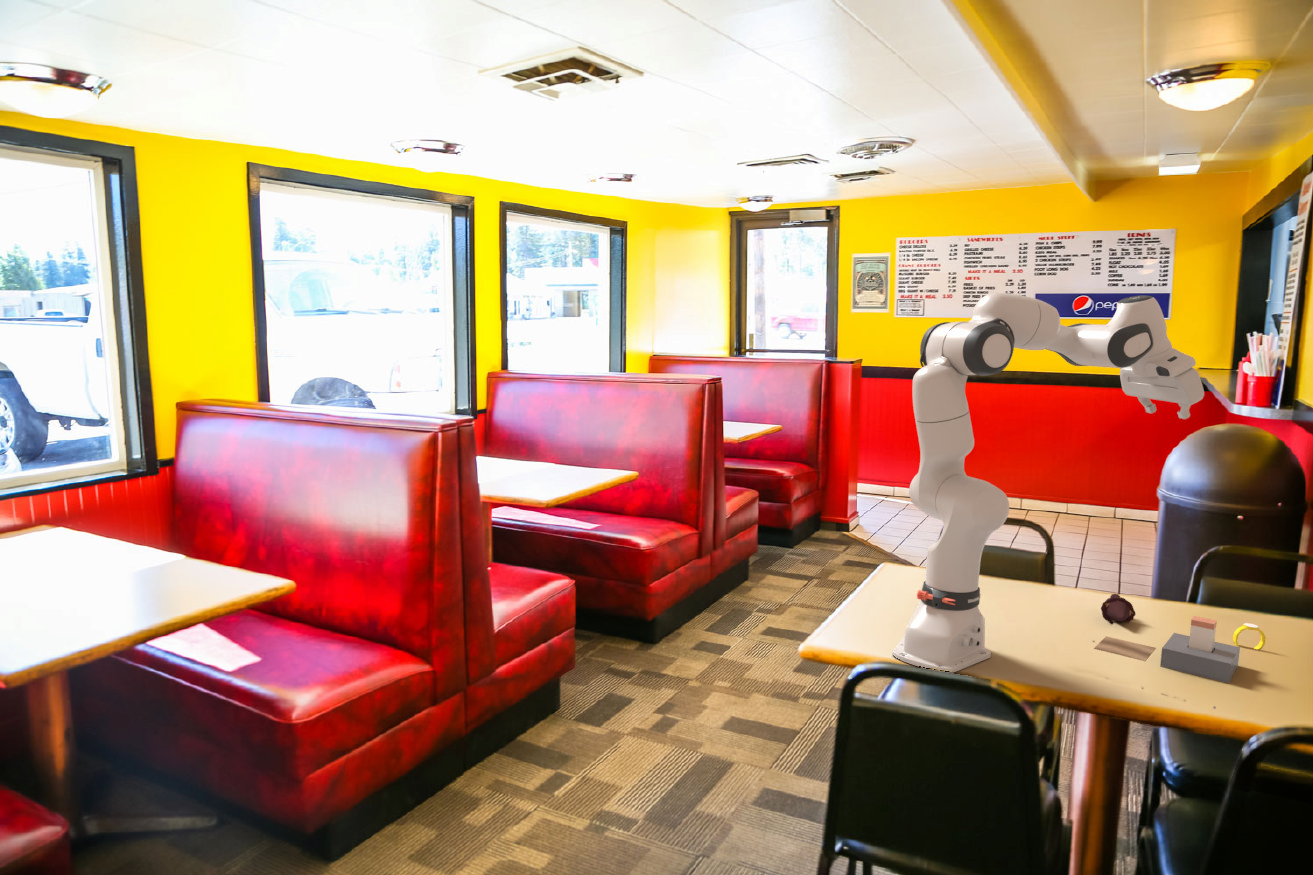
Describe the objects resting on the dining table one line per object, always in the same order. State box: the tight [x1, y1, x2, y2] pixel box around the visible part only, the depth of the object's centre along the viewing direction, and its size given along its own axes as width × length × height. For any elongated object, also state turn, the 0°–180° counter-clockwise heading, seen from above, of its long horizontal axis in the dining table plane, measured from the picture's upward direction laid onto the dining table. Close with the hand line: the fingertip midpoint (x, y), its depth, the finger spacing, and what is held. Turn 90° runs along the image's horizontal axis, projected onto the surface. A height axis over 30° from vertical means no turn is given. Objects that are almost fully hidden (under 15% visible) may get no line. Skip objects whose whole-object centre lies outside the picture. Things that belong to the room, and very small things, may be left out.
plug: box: [1189, 615, 1218, 653], centre depth 175 cm, size 3×4×10 cm
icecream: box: [1100, 593, 1136, 625], centre depth 203 cm, size 7×7×15 cm
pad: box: [1093, 635, 1156, 662], centre depth 185 cm, size 10×10×1 cm
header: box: [1160, 632, 1241, 684], centre depth 176 cm, size 12×12×5 cm
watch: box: [1232, 622, 1266, 650], centre depth 187 cm, size 6×3×6 cm, turn 79°
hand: (1167, 414), depth 196 cm, fingers open, 8 cm apart
